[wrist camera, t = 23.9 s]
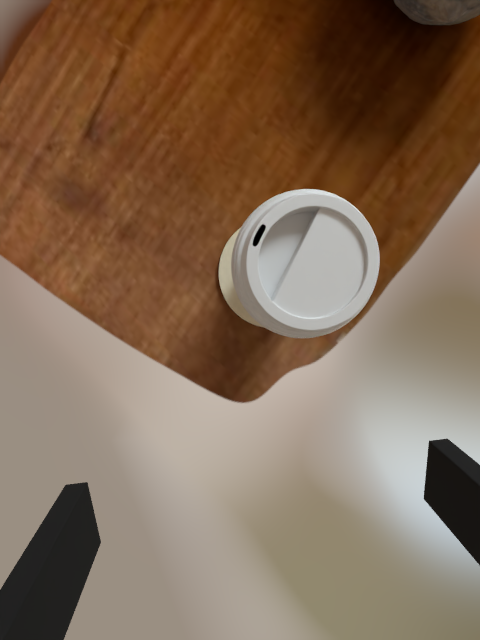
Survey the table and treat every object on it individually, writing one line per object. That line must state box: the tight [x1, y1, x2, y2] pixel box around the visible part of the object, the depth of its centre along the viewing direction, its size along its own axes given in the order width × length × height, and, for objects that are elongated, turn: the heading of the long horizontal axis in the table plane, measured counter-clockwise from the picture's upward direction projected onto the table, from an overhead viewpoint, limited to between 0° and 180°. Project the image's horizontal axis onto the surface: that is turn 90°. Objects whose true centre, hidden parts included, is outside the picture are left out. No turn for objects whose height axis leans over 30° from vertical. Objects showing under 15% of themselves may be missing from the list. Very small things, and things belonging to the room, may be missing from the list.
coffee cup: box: [231, 189, 380, 338], centre depth 25 cm, size 10×10×15 cm
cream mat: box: [219, 228, 265, 328], centre depth 33 cm, size 12×12×1 cm
